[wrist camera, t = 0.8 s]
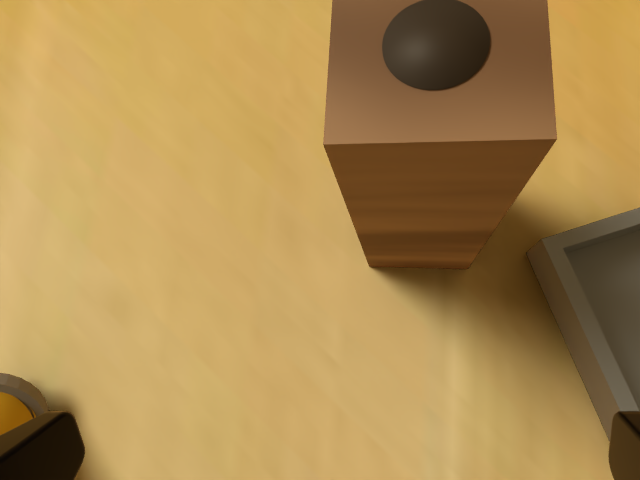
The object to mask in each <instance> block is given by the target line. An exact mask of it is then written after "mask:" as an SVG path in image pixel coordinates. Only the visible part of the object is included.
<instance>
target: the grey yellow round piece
mask: <svg viewBox="0 0 640 480" xmlns="http://www.w3.org/2000/svg"><path fill="white" fill-rule="evenodd" d="M48 411H49V409H48V405H47V403H46V400H45V398H44V397H43V395H42V394H41V392H40V391H39V390H38V389H37V388H36V387H34V386H33V385H32V384H31V383H29V382H27V381H25V380H24V379H22V378H19V377H16V376H13V375H10V374H4V373H0V435H2V434H4V433H6V432H8V431H10V430H12V429H14V428H16V427H17V426H19V425H21V424H23V423H25V422H27V421H29V420H31V419H33V418H35V417H37V416H39V415H41V414H43V413H45V412H48Z"/></svg>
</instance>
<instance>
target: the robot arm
mask: <svg viewBox="0 0 640 480" xmlns="http://www.w3.org/2000/svg"><path fill="white" fill-rule="evenodd" d="M84 455H85V447H84V443H83V440H82V437H81V434H80V432H79V429H78V426H77V423H76V420H75V417H74V415H73V414H72V413H71V412H68V411H48V412H45V413H43V414H41V415H39V416H37V417H35V418H33V419H31V420H29V421H27V422H25V423H23V424H21V425H19V426H17V427H16V428H14V429H12V430H10V431H8V432H6V433H4V434H2V435H0V480H74V479H75V476H76V474H77V472H78V470H79V468H80V466H81V464H82V462H83V459H84ZM609 464H610V469H611V472H612V475H613V478H614V480H640V411H618V412H616V413H615V414H614V416H613V418H612V426H611V436H610V446H609Z"/></svg>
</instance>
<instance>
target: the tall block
mask: <svg viewBox="0 0 640 480" xmlns="http://www.w3.org/2000/svg"><path fill="white" fill-rule="evenodd" d="M556 140H557V132H556V118H555V104H554V89H553V75H552V61H551V47H550V32H549V18H548V4H547V0H333V2H332V17H331V33H330V48H329V64H328V80H327V95H326V111H325V126H324V142H323V145H324V148H325V150H326V153H327V156H328V158H329V161H330V163H331V166H332V169H333V171H334V174H335V177H336V179H337V182H338V185H339V187H340V190H341V193H342V195H343V198H344V201H345V203H346V206H347V209H348V211H349V214H350V217H351V219H352V222H353V225H354V227H355V230H356V233H357V235H358V238H359V241H360V243H361V246H362V248H363V251H364V254H365V256H366V259H367V262H368V264H369V266H370V267H409V268H447V269H468V268H469V266H470V265H471V264H472V262H473V261H474V259H475V258H476V256H477V255H478V253H479V252H480V250H481V249H482V247H483V246H484V245H485V243H486V242H487V240H488V239H489V237H490V236H491V234H492V233H493V231H494V230H495V229H496V227H497V226H498V224H499V223H500V221H501V220H502V218H503V217H504V215H505V214H506V213H507V211H508V210H509V208H510V207H511V205H512V204H513V202H514V201H515V199H516V198H517V196H518V195H519V194H520V192H521V191H522V189H523V188H524V186H525V185H526V183H527V182H528V180H529V179H530V178H531V176H532V175H533V173H534V172H535V170H536V169H537V167H538V166H539V164H540V163H541V162H542V160H543V159H544V157H545V156H546V154H547V153H548V151H549V150H550V148H551V147H552V146H553V144H554V143H555V141H556Z"/></svg>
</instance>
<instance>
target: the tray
mask: <svg viewBox="0 0 640 480" xmlns="http://www.w3.org/2000/svg"><path fill="white" fill-rule="evenodd" d="M526 254H527V256H528V259H529V261H530V263H531V265H532V268H533V270H534V272H535V275H536V277H537V279H538V281H539V284H540V286H541V288H542V290H543V293H544V295H545V297H546V299H547V302H548V304H549V306H550V308H551V311H552V313H553V315H554V317H555V320H556V322H557V324H558V326H559V329H560V331H561V333H562V335H563V338H564V340H565V342H566V344H567V347H568V349H569V351H570V353H571V356H572V358H573V360H574V362H575V365H576V367H577V369H578V371H579V374H580V376H581V378H582V380H583V383H584V385H585V387H586V390H587V392H588V394H589V396H590V399H591V401H592V403H593V405H594V408H595V410H596V412H597V414H598V417H599V419H600V421H601V423H602V426H603V428H604V430H605V432H606V435H607V437H608V439H609V441H610V436H611V426H612V418H613V416H614V414H615V413H616V412H618V411H640V208H637V209H634V210H631V211H628V212H624V213H621V214H618V215H615V216H612V217H609V218H606V219H603V220H599V221H596V222H593V223H590V224H587V225H584V226H581V227H578V228H575V229H571V230H568V231H565V232H562V233H559V234H556V235H553V236H550V237H546V238H543V239H541V240H540V241H539V242H538V243H537V244H536V245H534V246H533V247H532V248H531V249H530V250H529V251H528V252H527V253H526Z"/></svg>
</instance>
